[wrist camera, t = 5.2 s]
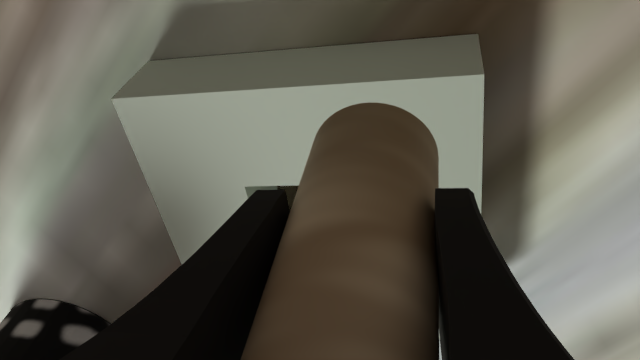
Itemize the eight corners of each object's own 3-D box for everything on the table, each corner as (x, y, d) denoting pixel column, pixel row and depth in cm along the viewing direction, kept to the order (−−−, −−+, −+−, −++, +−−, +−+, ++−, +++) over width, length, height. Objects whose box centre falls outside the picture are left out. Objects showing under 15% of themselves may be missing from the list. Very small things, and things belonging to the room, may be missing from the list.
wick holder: (478, 33, 18) (484, 74, 15) (474, 285, 25) (478, 340, 22) (148, 61, 20) (110, 98, 18) (228, 280, 27) (209, 328, 25)
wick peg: (437, 99, 12) (436, 482, 5) (439, 206, 13) (441, 590, 7) (303, 105, 12) (164, 451, 6) (321, 206, 14) (228, 558, 8)
